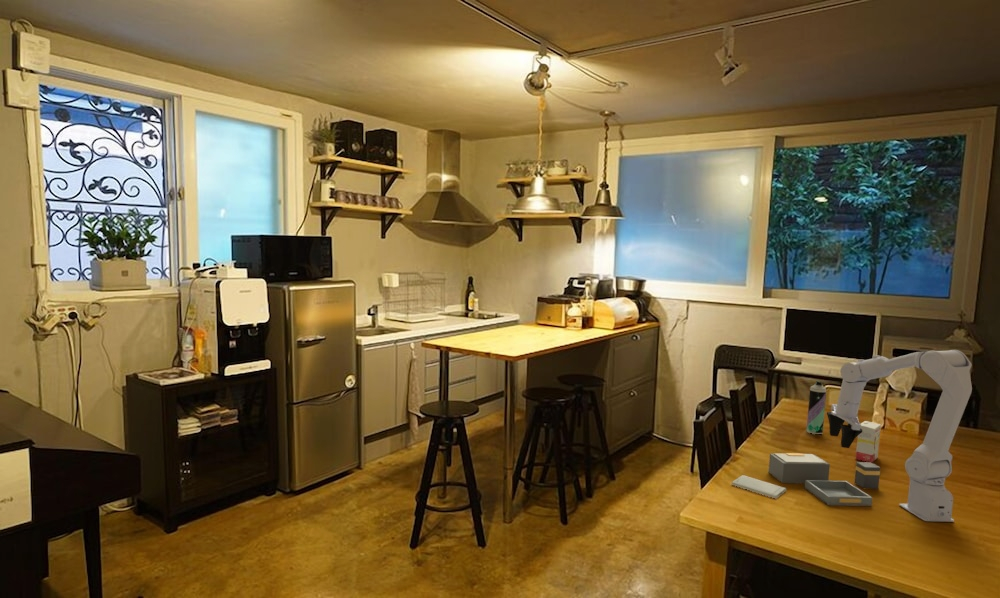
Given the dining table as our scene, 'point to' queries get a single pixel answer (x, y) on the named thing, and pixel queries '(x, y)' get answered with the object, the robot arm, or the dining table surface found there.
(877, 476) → the block
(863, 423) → the ink box
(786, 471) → the pale grey flat box
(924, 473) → the robot arm
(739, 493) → the dining table surface
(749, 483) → the hard drive
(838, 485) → the tray
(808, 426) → the spray can
